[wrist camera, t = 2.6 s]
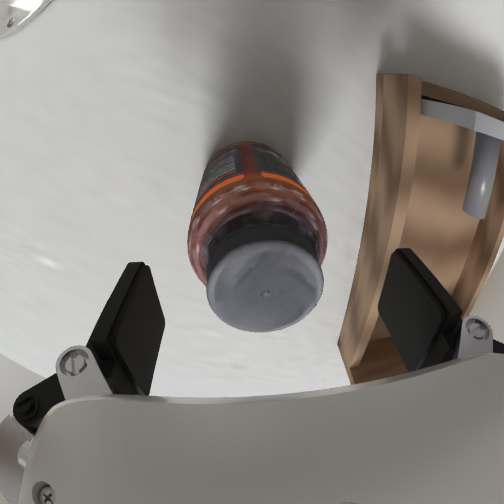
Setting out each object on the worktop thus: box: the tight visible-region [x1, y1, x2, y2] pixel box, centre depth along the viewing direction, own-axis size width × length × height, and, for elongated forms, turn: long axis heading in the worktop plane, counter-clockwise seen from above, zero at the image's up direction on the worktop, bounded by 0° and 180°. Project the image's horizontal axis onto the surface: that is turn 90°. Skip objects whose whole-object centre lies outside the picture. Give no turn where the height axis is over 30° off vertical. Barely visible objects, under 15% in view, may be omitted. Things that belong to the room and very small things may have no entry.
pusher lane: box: [338, 74, 504, 385], centre depth 18 cm, size 26×14×9 cm, turn 2°
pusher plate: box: [420, 99, 504, 219], centre depth 14 cm, size 7×11×7 cm, turn 92°
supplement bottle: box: [187, 142, 327, 332], centre depth 14 cm, size 6×6×11 cm
